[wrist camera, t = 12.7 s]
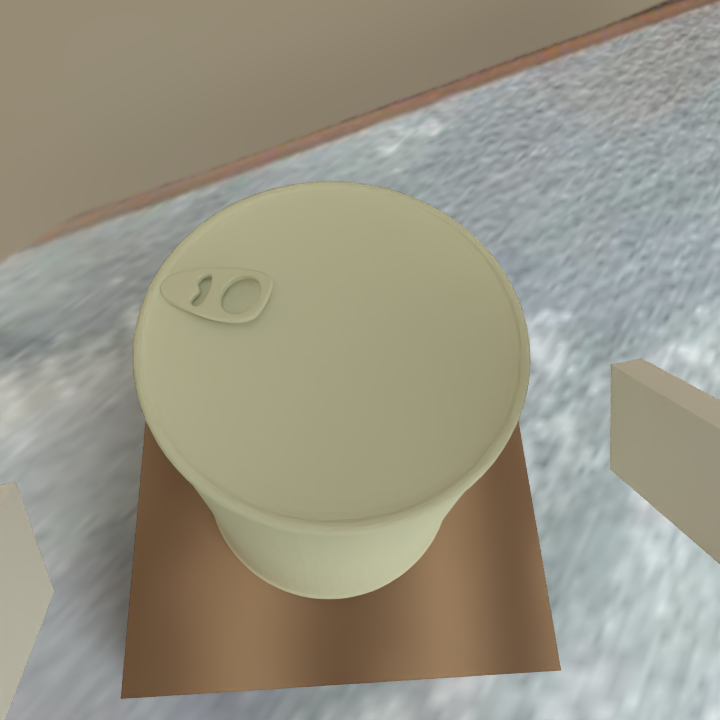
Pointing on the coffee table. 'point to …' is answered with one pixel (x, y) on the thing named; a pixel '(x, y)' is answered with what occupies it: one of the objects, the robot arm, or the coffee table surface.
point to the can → (331, 378)
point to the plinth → (334, 616)
